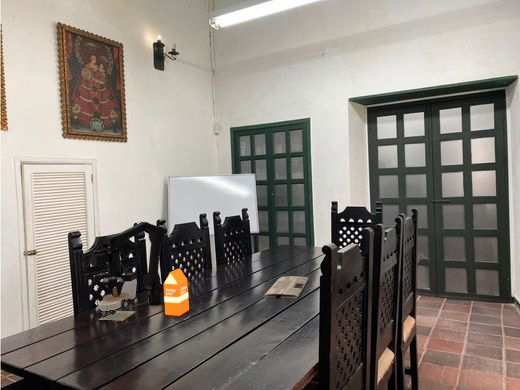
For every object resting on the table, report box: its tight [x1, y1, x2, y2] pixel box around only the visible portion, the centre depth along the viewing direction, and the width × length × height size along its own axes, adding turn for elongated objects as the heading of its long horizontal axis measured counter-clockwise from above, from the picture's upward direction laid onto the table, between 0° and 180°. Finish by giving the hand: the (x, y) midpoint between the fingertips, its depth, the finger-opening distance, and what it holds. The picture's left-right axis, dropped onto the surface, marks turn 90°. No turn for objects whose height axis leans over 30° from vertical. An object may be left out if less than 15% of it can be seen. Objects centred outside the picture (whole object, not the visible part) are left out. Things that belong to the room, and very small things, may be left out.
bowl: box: [97, 300, 122, 311], centre depth 195 cm, size 10×10×4 cm
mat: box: [98, 310, 136, 322], centre depth 183 cm, size 12×12×1 cm
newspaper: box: [263, 275, 309, 300], centre depth 217 cm, size 37×19×3 cm, turn 165°
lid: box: [102, 286, 129, 302], centre depth 183 cm, size 12×12×5 cm
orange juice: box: [163, 268, 190, 317], centre depth 184 cm, size 8×9×20 cm
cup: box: [121, 278, 137, 301], centre depth 212 cm, size 9×9×12 cm
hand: (116, 295), depth 183 cm, fingers closed on lid, 3 cm apart
